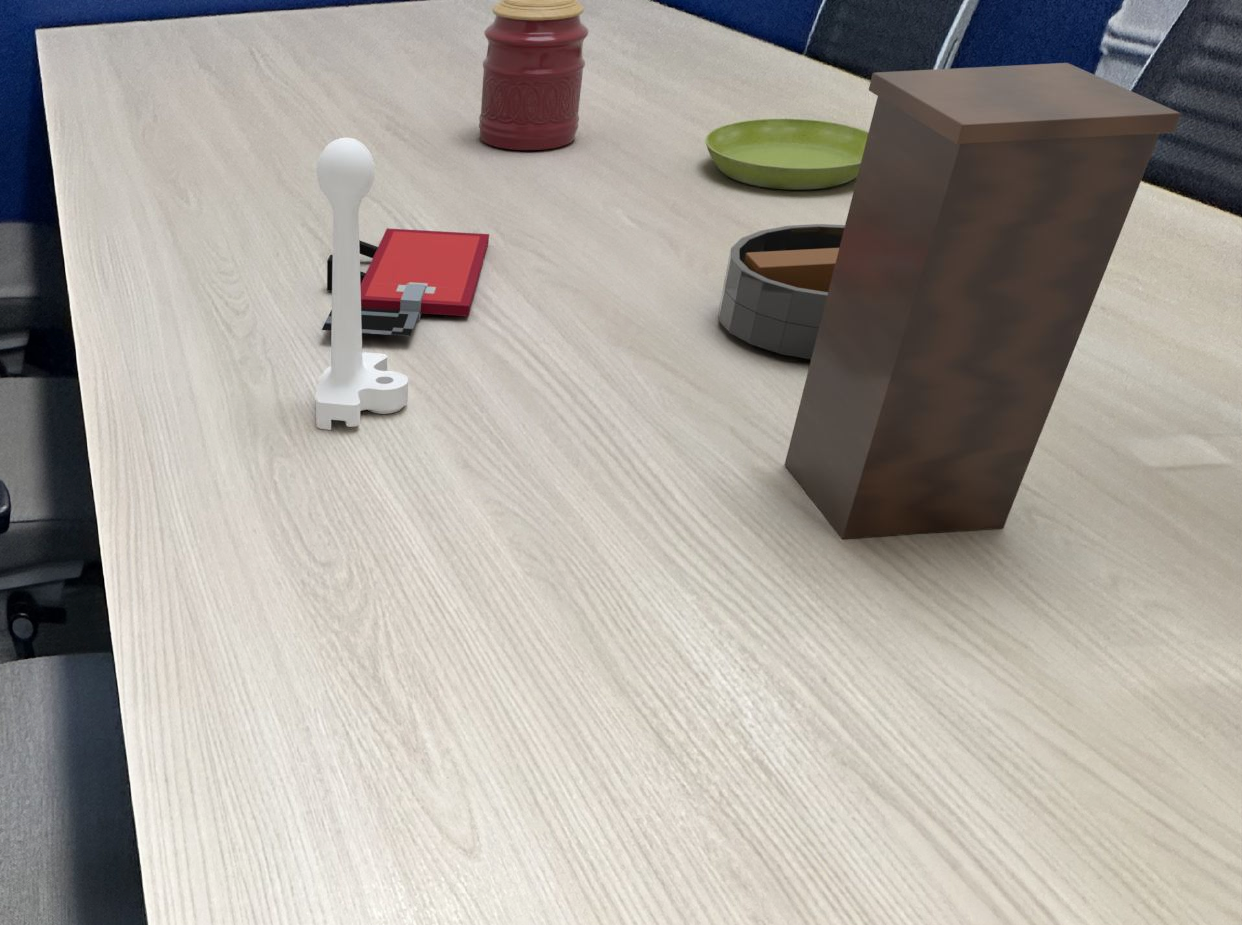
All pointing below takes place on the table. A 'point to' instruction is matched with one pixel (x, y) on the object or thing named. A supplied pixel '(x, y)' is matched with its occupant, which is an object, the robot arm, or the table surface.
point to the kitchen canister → (532, 74)
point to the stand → (963, 289)
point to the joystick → (351, 299)
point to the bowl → (775, 292)
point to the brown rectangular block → (796, 267)
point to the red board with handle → (416, 278)
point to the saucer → (788, 152)
